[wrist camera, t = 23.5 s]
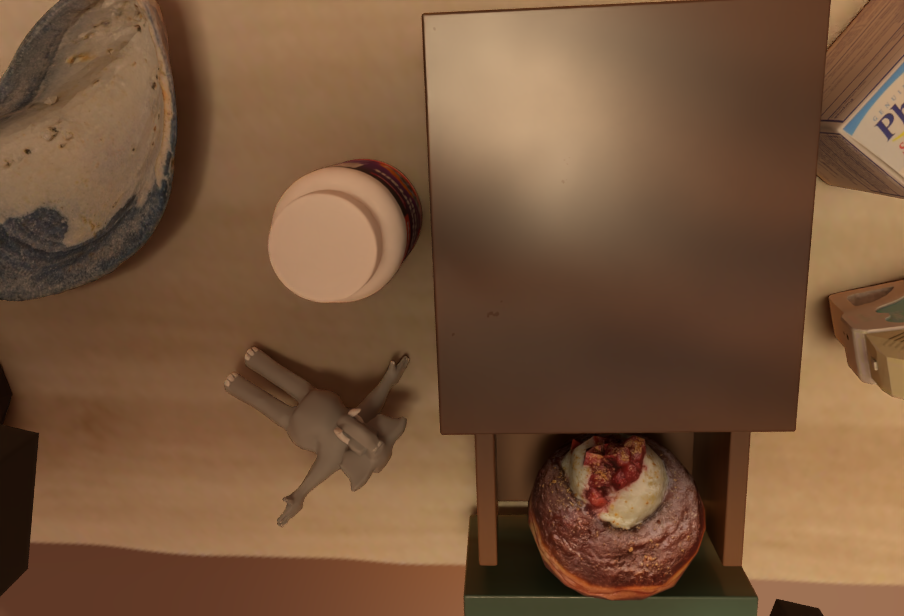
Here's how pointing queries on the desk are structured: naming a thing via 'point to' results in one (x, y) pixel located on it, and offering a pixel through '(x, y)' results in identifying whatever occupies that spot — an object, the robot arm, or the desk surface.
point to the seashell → (84, 144)
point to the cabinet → (622, 213)
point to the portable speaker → (4, 396)
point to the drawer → (565, 610)
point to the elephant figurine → (324, 424)
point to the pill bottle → (344, 230)
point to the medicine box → (865, 104)
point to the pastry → (616, 516)
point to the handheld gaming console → (873, 333)
